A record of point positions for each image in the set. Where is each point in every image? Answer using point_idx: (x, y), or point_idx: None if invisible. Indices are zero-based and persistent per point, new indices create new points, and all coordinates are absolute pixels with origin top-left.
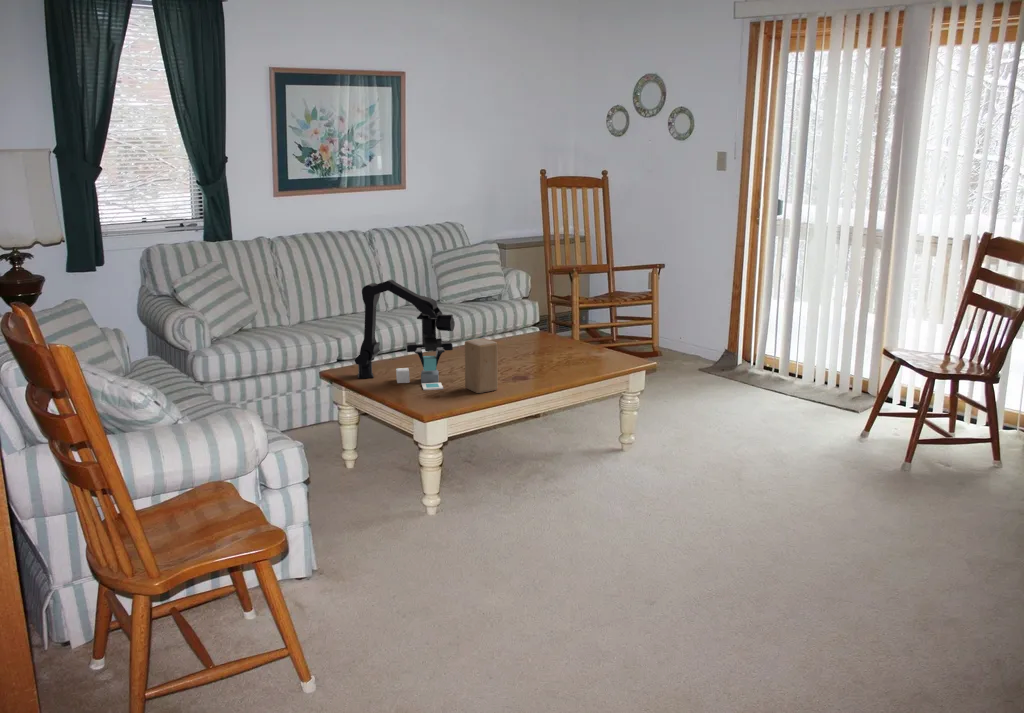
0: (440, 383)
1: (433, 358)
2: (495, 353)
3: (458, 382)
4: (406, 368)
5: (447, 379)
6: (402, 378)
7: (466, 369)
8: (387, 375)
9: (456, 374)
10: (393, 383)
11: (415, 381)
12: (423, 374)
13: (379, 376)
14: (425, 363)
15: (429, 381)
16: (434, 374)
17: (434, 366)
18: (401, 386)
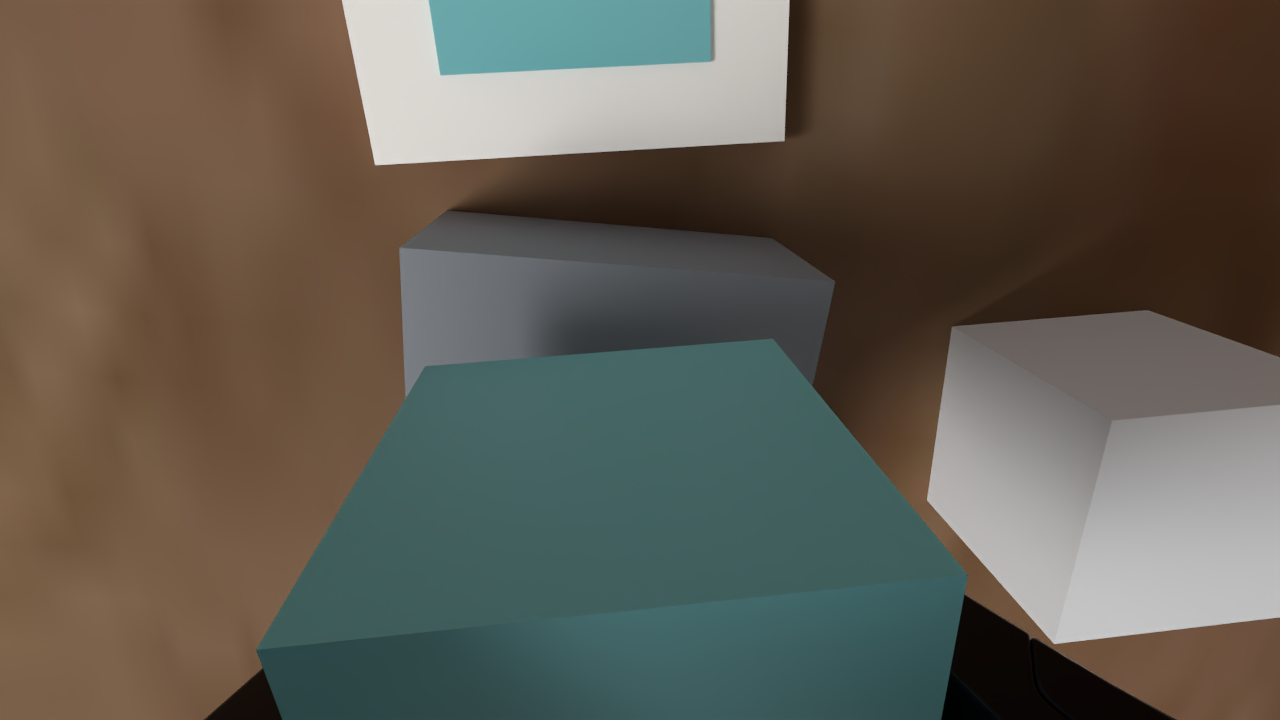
0: (379, 76)
1: (431, 688)
2: None
3: (16, 230)
4: (1099, 611)
5: (288, 448)
6: (1127, 344)
7: None
8: (1143, 672)
9: (176, 690)
10: (1213, 296)
11: (846, 377)
12: (770, 303)
13: (1250, 637)
14: (809, 452)
15: (618, 232)
16: (495, 270)
17: (459, 419)
18: (1156, 78)
